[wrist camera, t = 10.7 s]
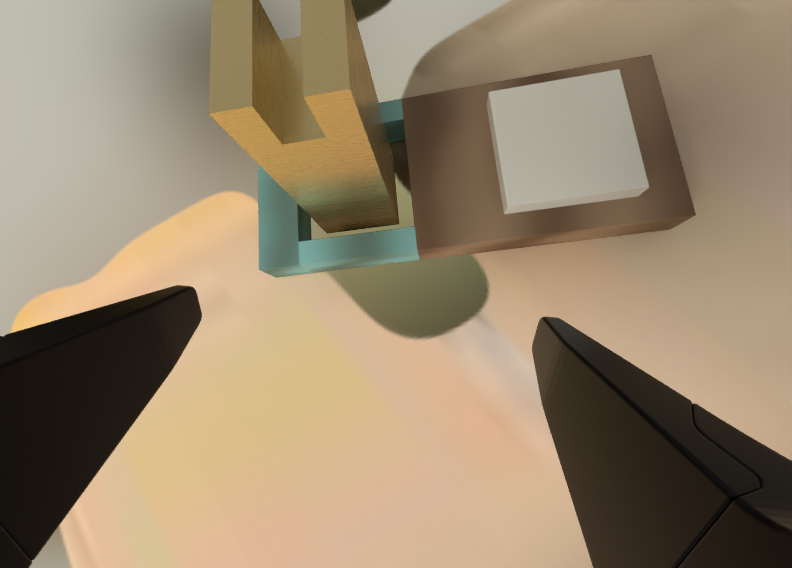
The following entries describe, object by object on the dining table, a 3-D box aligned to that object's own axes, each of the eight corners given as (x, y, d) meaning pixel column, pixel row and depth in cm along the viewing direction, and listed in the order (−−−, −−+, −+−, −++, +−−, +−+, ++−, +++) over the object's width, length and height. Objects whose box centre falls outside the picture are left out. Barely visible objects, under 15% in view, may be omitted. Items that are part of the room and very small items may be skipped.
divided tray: (276, 277, 21) (249, 265, 18) (273, 143, 23) (248, 113, 20) (669, 229, 19) (711, 206, 16) (631, 83, 21) (662, 38, 18)
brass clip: (399, 224, 21) (349, 88, 10) (327, 233, 21) (209, 113, 11) (393, 156, 22) (342, -33, 11) (324, 167, 22) (212, -5, 12)
